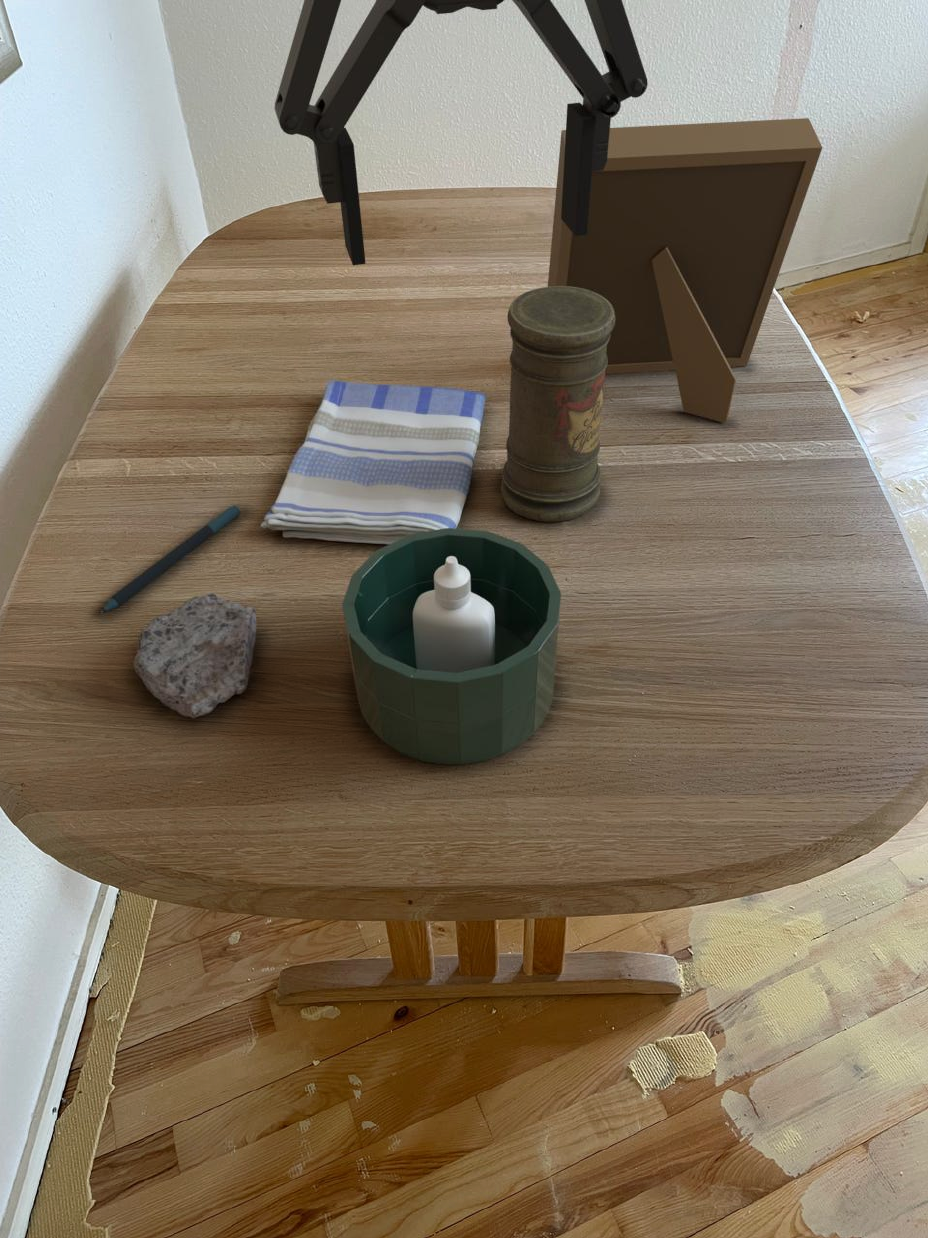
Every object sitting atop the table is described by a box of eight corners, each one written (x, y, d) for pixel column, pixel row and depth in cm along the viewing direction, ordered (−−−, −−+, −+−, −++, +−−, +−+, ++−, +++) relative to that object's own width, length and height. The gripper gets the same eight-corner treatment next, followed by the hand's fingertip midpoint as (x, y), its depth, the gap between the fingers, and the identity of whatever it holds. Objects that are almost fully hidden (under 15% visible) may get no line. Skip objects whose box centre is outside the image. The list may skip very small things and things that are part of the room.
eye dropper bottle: (448, 644, 70) (442, 524, 62) (504, 681, 68) (506, 561, 59) (408, 677, 68) (397, 557, 59) (464, 716, 65) (460, 597, 57)
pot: (580, 739, 64) (591, 654, 58) (377, 785, 62) (364, 701, 56) (520, 599, 74) (523, 513, 68) (343, 634, 72) (329, 548, 65)
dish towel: (260, 540, 80) (254, 515, 78) (328, 394, 96) (324, 371, 94) (454, 557, 78) (453, 532, 76) (490, 405, 94) (490, 381, 92)
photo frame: (541, 357, 101) (552, 108, 83) (735, 346, 101) (788, 97, 84) (561, 434, 90) (578, 169, 72) (777, 420, 91) (847, 155, 73)
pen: (99, 615, 74) (94, 604, 73) (234, 511, 83) (231, 501, 82) (108, 620, 74) (103, 610, 73) (242, 515, 83) (240, 505, 82)
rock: (263, 615, 73) (253, 579, 71) (248, 722, 66) (236, 686, 63) (152, 621, 73) (138, 585, 70) (125, 729, 66) (108, 693, 63)
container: (490, 514, 82) (490, 328, 69) (515, 457, 88) (520, 276, 75) (588, 531, 80) (607, 344, 67) (607, 472, 86) (629, 289, 73)
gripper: (688, -259, 44) (637, 192, 59) (163, -237, 40) (253, 240, 55) (760, -253, 39) (684, 239, 54) (168, -227, 35) (265, 296, 50)
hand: (466, 241), depth 55 cm, fingers open, 13 cm apart
